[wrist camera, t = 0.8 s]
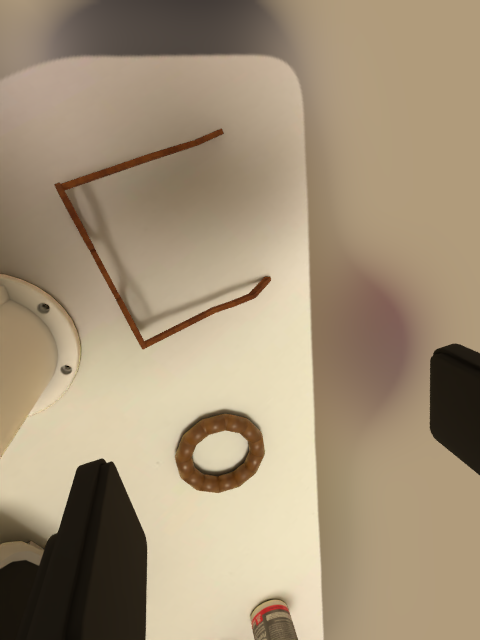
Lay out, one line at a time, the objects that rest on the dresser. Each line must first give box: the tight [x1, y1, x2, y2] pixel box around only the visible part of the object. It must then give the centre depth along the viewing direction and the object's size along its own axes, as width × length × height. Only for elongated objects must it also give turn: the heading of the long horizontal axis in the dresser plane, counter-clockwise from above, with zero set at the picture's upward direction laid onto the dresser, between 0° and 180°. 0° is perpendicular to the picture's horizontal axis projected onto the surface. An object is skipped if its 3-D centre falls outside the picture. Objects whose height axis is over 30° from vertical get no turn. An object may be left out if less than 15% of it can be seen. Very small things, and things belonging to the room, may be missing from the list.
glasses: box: [54, 129, 271, 349], centre depth 25 cm, size 13×13×5 cm
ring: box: [175, 414, 265, 493], centre depth 35 cm, size 9×9×2 cm
